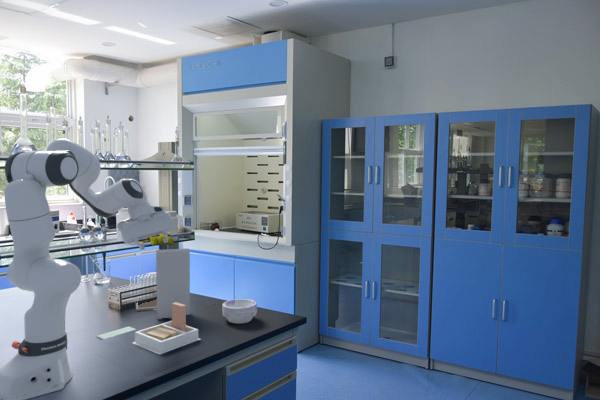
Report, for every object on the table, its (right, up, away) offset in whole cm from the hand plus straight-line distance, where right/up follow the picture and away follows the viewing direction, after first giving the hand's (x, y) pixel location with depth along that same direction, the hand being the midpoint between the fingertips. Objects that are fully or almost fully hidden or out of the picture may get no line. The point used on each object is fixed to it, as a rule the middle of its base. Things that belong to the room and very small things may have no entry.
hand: (154, 245), depth 178 cm
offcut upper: (+4, -34, -6) cm, 35 cm away
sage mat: (-14, -36, +3) cm, 39 cm away
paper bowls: (+30, -36, +24) cm, 52 cm away
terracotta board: (+9, -36, +1) cm, 37 cm away
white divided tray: (+6, -37, -4) cm, 38 cm away
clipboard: (-15, -34, +49) cm, 62 cm away
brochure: (-1, -35, +28) cm, 45 cm away
